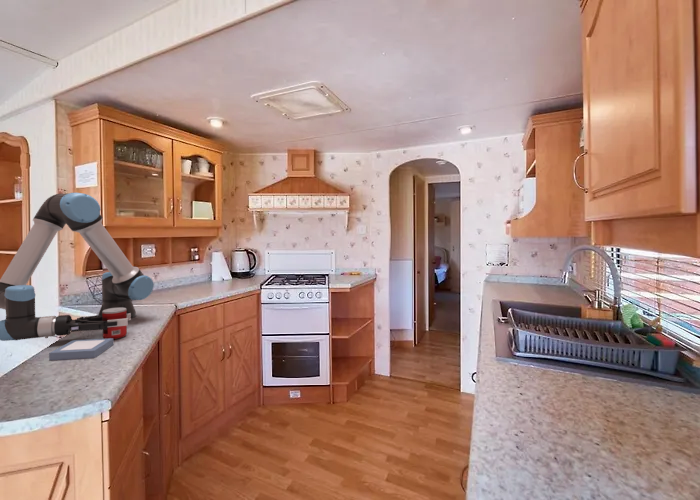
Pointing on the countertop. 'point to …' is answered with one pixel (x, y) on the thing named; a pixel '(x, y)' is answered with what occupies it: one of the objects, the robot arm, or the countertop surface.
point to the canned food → (112, 315)
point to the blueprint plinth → (81, 349)
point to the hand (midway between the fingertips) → (129, 319)
